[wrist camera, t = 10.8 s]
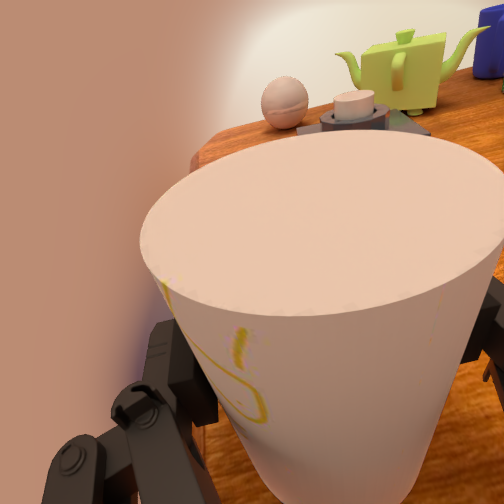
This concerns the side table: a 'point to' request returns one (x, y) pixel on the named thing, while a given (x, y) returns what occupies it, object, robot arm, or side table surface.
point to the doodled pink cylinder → (331, 298)
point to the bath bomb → (284, 102)
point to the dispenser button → (354, 105)
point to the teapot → (407, 69)
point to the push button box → (367, 123)
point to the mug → (490, 44)
